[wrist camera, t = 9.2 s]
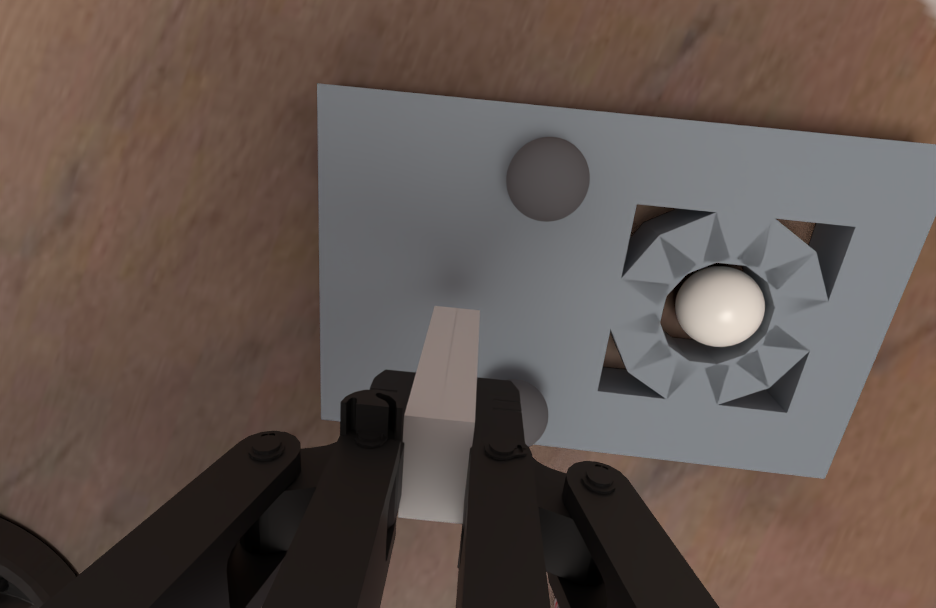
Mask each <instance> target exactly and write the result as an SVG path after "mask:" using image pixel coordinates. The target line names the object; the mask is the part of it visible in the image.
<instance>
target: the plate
mask: <svg viewBox="0 0 936 608" xmlns="http://www.w3.org/2000/svg"><path fill="white" fill-rule="evenodd" d="M317 116H318V200H319V283H320V366H321V419H323V420H331V421H340V402H341V401H342V400H343V399H344V398H345V397H346V396H347V395H349V394H352V393H354V392H357V391H361V390H370V386H371V384H372V382H373V379H374V377H376V376H377V375H378V374H380V373H381V372H383V371H384V370H385V369H387V370H397V371H406V372H416V371H417V368H418V364H419V360H420V357H421V353H422V350H423V346H424V343H425V339H426V335H427V332H428V328H429V325H430V321H431V317H432V314H433V310H434V307H435V306H441V307H451V308H461V309H471V310H480V321H479V343H478V365H477V377H479V378H489V379H499V380H508V379H518V380H523V381H526V382H528V383H530V384H532V385H533V386H534V387H536V388H537V389H538V390H539V391H540V392H541V394H542V395H543V397H544V399H545V401H546V403H547V407H548V423H547V427H546V429H545V431H544V433H543V435H542V436H541V438H540V439H539V440H538V441H537V442H536V443H534V444H535V445H543V446H552V447H560V448H569V449H577V450H585V451H594V452H602V453H611V454H619V455H628V456H636V457H645V458H653V459H662V460H670V461H679V462H687V463H696V464H704V465H712V466H721V467H729V468H738V469H746V470H755V471H763V472H772V473H780V474H789V475H797V476H806V477H814V478H823V479H825V477H826V474H827V472H828V469H829V467H830V465H831V462H832V460H833V458H834V455H835V453H836V451H837V448H838V446H839V443H840V441H841V439H842V436H843V434H844V432H845V429H846V427H847V424H848V422H849V420H850V417H851V415H852V413H853V410H854V408H855V405H856V403H857V401H858V398H859V396H860V394H861V391H862V389H863V387H864V384H865V382H866V379H867V377H868V375H869V372H870V370H871V368H872V365H873V363H874V360H875V358H876V356H877V353H878V351H879V349H880V346H881V344H882V341H883V339H884V337H885V334H886V332H887V330H888V327H889V325H890V323H891V320H892V318H893V315H894V313H895V311H896V308H897V306H898V304H899V301H900V299H901V296H902V294H903V292H904V289H905V287H906V285H907V282H908V280H909V277H910V275H911V273H912V270H913V268H914V266H915V263H916V261H917V259H918V256H919V254H920V251H921V249H922V247H923V244H924V242H925V240H926V237H927V235H928V232H929V230H930V228H931V225H932V223H933V221H934V218H935V216H936V145H935V144H925V143H915V142H905V141H895V140H884V139H874V138H864V137H854V136H844V135H834V134H824V133H814V132H804V131H793V130H783V129H773V128H763V127H753V126H743V125H733V124H723V123H712V122H702V121H692V120H682V119H672V118H662V117H652V116H642V115H632V114H621V113H611V112H601V111H591V110H581V109H571V108H561V107H551V106H541V105H530V104H520V103H510V102H500V101H490V100H480V99H470V98H460V97H450V96H439V95H429V94H419V93H409V92H399V91H389V90H379V89H369V88H359V87H348V86H338V85H328V84H318V83H317ZM542 137H557V138H561V139H564V140H566V141H569V142H570V143H572V144H573V145H575V146H576V147H577V148H578V149H579V150H580V151H581V153H582V154H583V156H584V157H585V159H586V161H587V164H588V167H589V173H590V183H589V188H588V192H587V194H586V197H585V198H584V200H583V202H582V203H581V205H580V206H579V207H578V208H577V209H576V210H575V211H574V212H573V213H571V214H570V215H568V216H567V217H565V218H563V219H560V220H556V221H550V222H544V221H537V220H534V219H531V218H529V217H527V216H525V215H524V214H522V213H521V212H520V211H519V210H518V209H517V208H516V207H515V206H514V204H513V203H512V201H511V199H510V197H509V194H508V191H507V185H506V176H507V170H508V167H509V164H510V162H511V160H512V158H513V157H514V155H515V154H516V153H517V152H518V150H519V149H520V148H522V147H523V146H524V145H525V144H527V143H529V142H530V141H532V140H535V139H538V138H542ZM637 204H641V205H650V206H660V207H669V208H678V209H675V210H673V211H670V212H668V213H665V214H663V215H661V216H658V217H656V218H653V219H651V220H648V221H646V222H644V223H643V224H642V225H641V226H640V227H639V228H638V230H637V231H636V232H635V233H634V234H633V235H632V237H631V238H630V234H631V229H632V224H633V220H634V215H635V210H636V205H637ZM776 219H785V220H795V221H804V222H814V223H816V226H815V229H814V232H813V234H812V237H811V240H810V243H809V246H808V245H807V244H806V243H805V242H803V241H802V240H801V239H800V238H798V237H797V236H796V235H795V234H794V233H792V232H791V231H790V230H789V229H787V228H786V227H785V226H784V225H782V224H781V223H780V222H779V221H777V220H776ZM714 263H725V264H734V265H742V267H743V271H744V273H746V274H747V275H749V276H750V277H751V278H752V279H753V280H754V281H755V282H756V283H757V284H758V286H759V287H760V289H761V291H762V293H763V296H764V301H765V312H764V317H763V320H762V322H761V324H760V326H759V327H758V329H757V330H756V331H755V333H754V334H752V335H751V336H750V337H749V338H748V339H746V340H744V341H743V342H740V343H738V344H735V345H732V346H726V347H714V346H709V345H705V344H702V343H700V342H698V341H696V340H691V339H682V338H673V337H671V336H669V335H668V334H667V333H665V332H664V331H663V330H662V327H661V324H660V320H661V316H662V312H663V308H664V304H665V300H666V296H667V295H668V294H669V293H670V292H671V291H672V290H673V288H674V287H675V286H676V285H677V284H678V283H679V282H680V281H681V280H682V279H683V278H684V277H685V276H686V274H688V273H691V272H693V271H696V270H699V269H701V268H704V267H706V266H709V265H712V264H714ZM610 333H611V335H612V338H613V340H614V343H615V345H616V348H617V350H618V352H619V354H620V356H621V358H622V361H623V363H624V365H625V367H626V369H627V370H624V369H615V368H607V367H603V363H604V358H605V353H606V348H607V343H608V339H609V334H610Z"/></svg>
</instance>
